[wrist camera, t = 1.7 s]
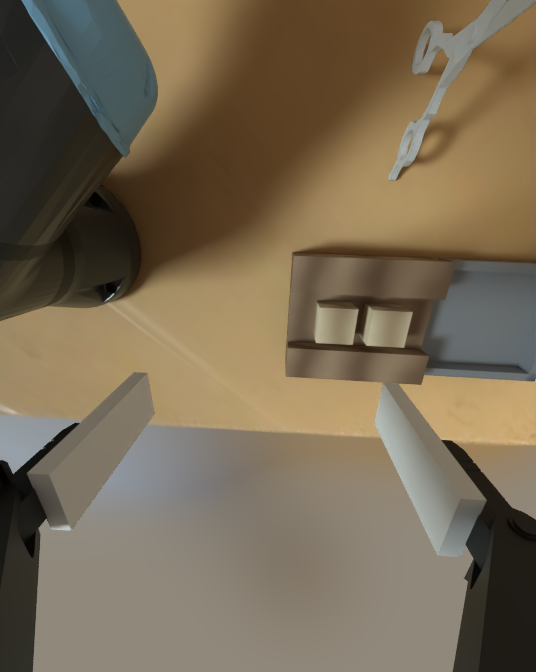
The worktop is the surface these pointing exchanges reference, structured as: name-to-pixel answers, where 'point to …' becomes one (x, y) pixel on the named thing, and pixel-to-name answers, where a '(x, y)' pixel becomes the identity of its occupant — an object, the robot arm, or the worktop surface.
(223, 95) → the worktop surface
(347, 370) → the slot board
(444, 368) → the tray
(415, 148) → the scissors
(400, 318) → the chip
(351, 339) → the cream square block
